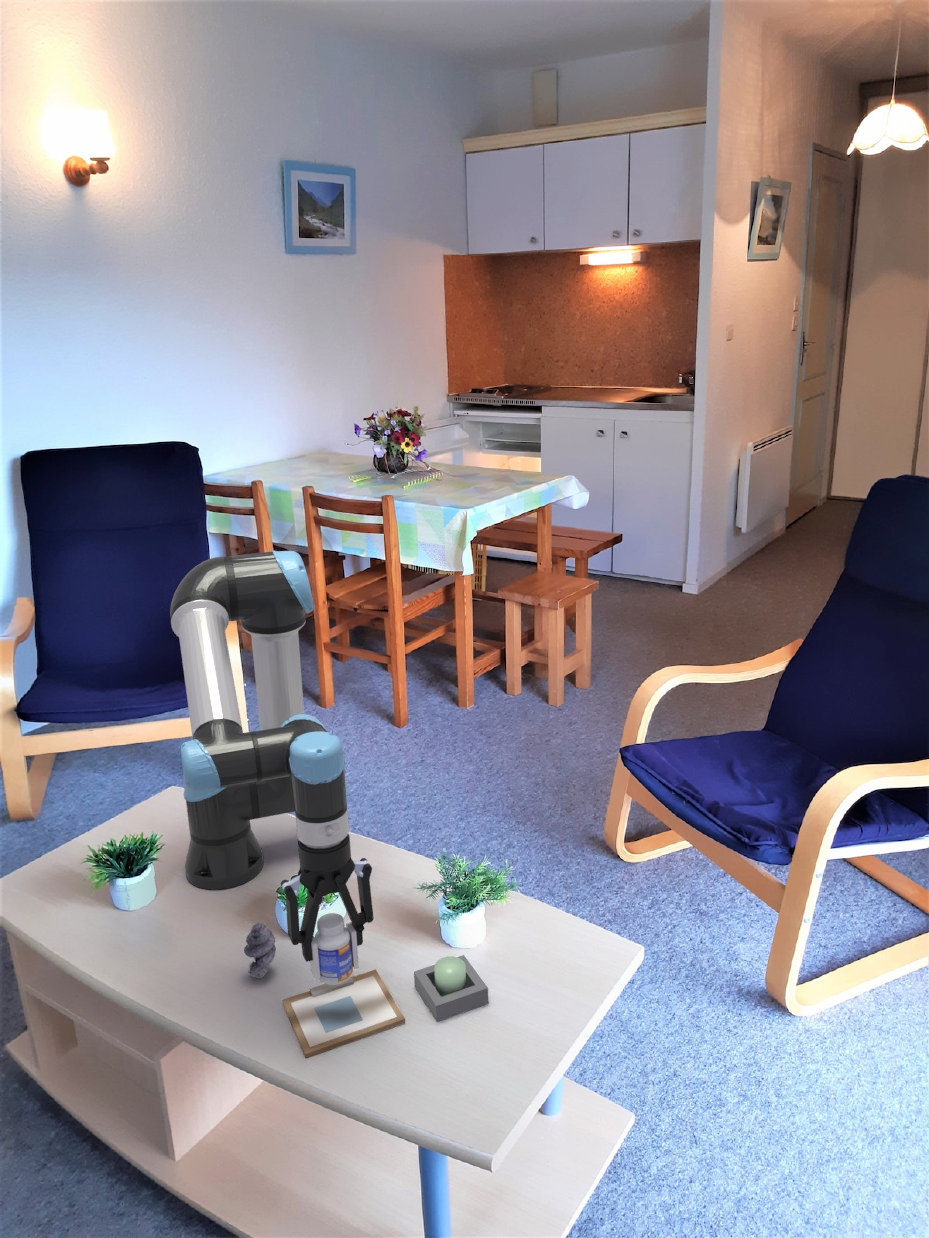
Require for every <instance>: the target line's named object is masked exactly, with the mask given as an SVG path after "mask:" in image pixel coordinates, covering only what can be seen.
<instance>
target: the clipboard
mask: <svg viewBox="0 0 929 1238" xmlns="http://www.w3.org/2000/svg"><path fill="white" fill-rule="evenodd" d="M282 1006H283V1008H284V1010H285V1013H286V1015H287V1018H288V1020H289V1021H290V1025H291V1027H292V1030H293V1032H294V1034H295V1036H296V1039H297V1041H298V1043H299V1046H300V1049H301V1051H302V1053H303V1056H304V1058H305V1059H307V1058H310V1057H313V1056H316V1055H318V1054H319V1055H320V1054H321V1053H325V1052H327V1051H331V1050H333V1049H336V1048H338V1047H342V1046H345V1045H347V1044H350V1043H353V1042H356V1041H358V1040H359V1041H360V1040H361V1039H364V1038H367V1037H370V1036H373V1035H376V1034H378V1033H380V1032H384V1031H386V1030H390V1029H393V1028H395V1027H398V1026H401V1025H404V1024H406V1019H405V1016H404V1015H403V1013H402V1012H401V1010H400V1008H399V1006H398V1004H397V1003H396V1001H395V999H394V998H393V995H392V994H391V993H390V991H389V989H388V988H387V986H386V984H385V982H384V981H383V979H382V977H381V975H380V974H379V972H378V971H377V969H373V970H370V971H367V972H364V973H360V974H357V975H354V976H351V977H350V979H349V980H347V981H346V982H344V983H342V984H339V985H327V984H325V983H323V984H320V985H316V986H313V987H311V988H309V990H308V991H305V992H302V993H298V994H295V995H293V996H290V997H286V998H284V999H282Z"/></svg>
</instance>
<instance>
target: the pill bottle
mask: <svg viewBox="0 0 929 1238" xmlns="http://www.w3.org/2000/svg"><path fill="white" fill-rule="evenodd" d="M316 926H317V927H316V928H317V931H316V932H315V934H314V938H315V940H316V942H317V945H318V956H319V967H320V979H321V980H319V981H320V982H321V983H323V984H327V985H339V984H342V983H344V982H346V981H347V980H349V979H350V977H353V976H352V975H353V972H354V967H353V964H352V953H351V943H350V933H349V931H348V929H347V928H346V926H345V920H344V917H343V916H342V915H341V914H340V913H336V912H330V913H329V912H328V913H325V914H323V915H322V916H320V917H319V918H317V920H316Z"/></svg>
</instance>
